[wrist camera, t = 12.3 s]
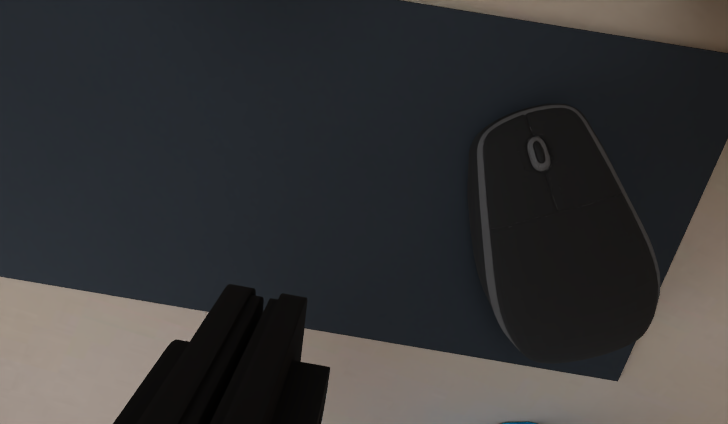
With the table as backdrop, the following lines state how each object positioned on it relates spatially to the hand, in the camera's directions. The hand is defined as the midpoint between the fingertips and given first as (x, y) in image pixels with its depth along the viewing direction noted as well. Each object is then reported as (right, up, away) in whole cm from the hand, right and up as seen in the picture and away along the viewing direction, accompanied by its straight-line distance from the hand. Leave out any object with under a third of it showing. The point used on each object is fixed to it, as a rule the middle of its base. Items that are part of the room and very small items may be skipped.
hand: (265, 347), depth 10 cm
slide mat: (-1, +5, +12) cm, 13 cm away
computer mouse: (+11, +2, +12) cm, 16 cm away
